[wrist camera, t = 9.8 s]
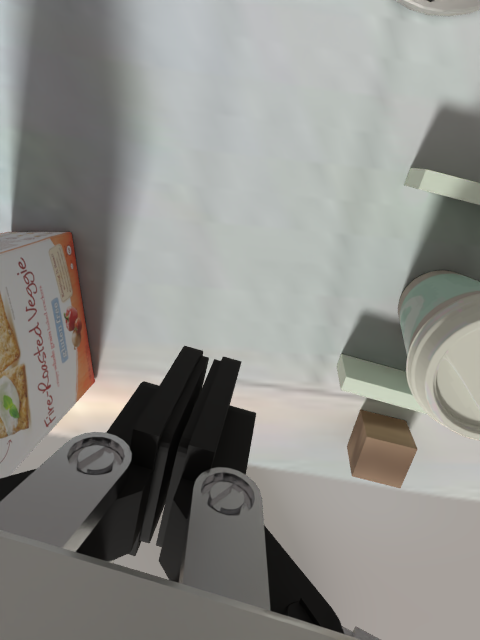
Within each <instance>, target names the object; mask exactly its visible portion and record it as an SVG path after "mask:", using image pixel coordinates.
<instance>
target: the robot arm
mask: <svg viewBox="0 0 480 640" xmlns="http://www.w3.org/2000/svg"><path fill="white" fill-rule="evenodd" d="M395 1H397V2H398V3H400V4H402V5H403V6H405V7H407V8H409V9H410V10H413V11H417V12H420V13H423V14H426V15H433V16H447V17H449V16H456V15H463V14H470V13H473V12H475V11H478V10H480V0H433V1H432V2H428V1H427V0H395ZM208 360H209V358H208V357H204V356H203V351H201V350H198V349H194V348H191V347H187V346H184V347H183V348H182V350H181V352H180V353H179V355H178V357H177V358H176V360H175V361H174V363H173V365H172V366H171V368H170V370H169V371H168V373H167V375H166V376H165V378H164V379H163V381H162V383H161V384H160V386H158V385H155V384H151V383H148V382H142V383H141V384H140V385H139V387H138V388H137V390H136V391H135V392H134V394H133V395H132V397H131V398H130V400H129V401H128V402H127V404H126V405H125V407H124V408H123V410H122V411H121V412H120V414H119V415H118V417H117V418H116V420H115V421H114V423H113V424H112V425H111V427H110V428H109V430H108V431H107V433H102V432H91V433H84V434H81V435H79V436H76V437H74V438H72V439H71V440H69V441H68V442H67V443H65V444H64V445H63V446H62V447H61V448H60V449H59V450H57V451H56V452H55V453H54V454H53V455H52V456H51V457H50V458H49V459H47V460H46V461H45V462H44V463H43V464H42V465H41V466H40V467H39V468H37V469H34V470H30V471H27V472H23V473H19V474H15V475H11V476H8V477H4V478H0V640H380V639H378V638H377V637H375V636H373V635H371V634H369V633H367V632H366V631H364V630H362V629H360V628H358V627H355V628H354V630H353V632H352V631H350V630H348V629H346V628H344V627H343V626H341V623H340V621H339V619H338V617H337V615H336V614H335V612H334V611H333V609H332V608H331V606H330V605H329V604H328V603H327V602H326V600H325V599H324V598H323V597H322V595H321V594H320V593H319V592H318V591H317V589H316V588H315V587H314V586H313V584H312V583H311V582H310V581H309V579H308V578H307V577H306V576H305V575H304V573H303V572H302V571H301V570H300V569H299V567H298V566H297V565H296V564H295V562H294V561H293V560H292V559H291V558H290V556H289V555H288V554H287V553H286V551H285V550H284V549H283V548H282V547H281V545H280V544H279V543H278V542H277V540H276V539H275V538H274V537H273V535H272V534H271V533H270V532H269V531H268V529H267V528H266V527H265V526H264V519H263V506H262V497H261V493H260V490H259V488H258V487H257V485H256V484H255V483H254V481H252V480H251V479H250V478H249V477H248V476H247V475H246V469H247V464H248V458H249V452H250V446H251V440H252V435H253V429H254V423H255V417H256V413H254V412H251V411H247V410H244V409H240V408H237V407H233V406H230V402H231V398H232V395H233V391H234V387H235V384H236V380H237V376H238V372H239V369H240V365H241V361H238V360H234V359H230V358H227V357H223V358H222V360H221V361H219V360H215V359H214V361H213V364H212V366H211V368H210V371H209V373H208V375H207V378H206V380H205V383H204V385H203V382H204V377H205V373H206V369H207V365H208ZM202 386H203V387H202ZM165 502H166V503H165ZM164 505H165V507H164ZM163 507H164V512H163V516H162V521H161V525H160V529H159V534H158V539H157V543H156V545H157V546H160V547H162V549H161V553H160V557H159V562H160V564H161V566H162V567H163V569H164V571H165V573H166V575H167V576H168V578H169V580H167V579H164V578H161V577H157V576H154V575H150V574H147V573H144V572H140V571H137V570H134V569H130V568H127V567H123V566H120V565H116V564H114V563H113V562H114V560H115V559H117V558H118V557H121V556H123V555H126V554H130V555H133V556H135V555H136V553H137V550H138V548H139V546H140V543H141V541H143V542H146V543H150V541H151V538H152V536H153V533H154V531H155V528H156V526H157V523H158V520H159V518H160V515H161V512H162V510H163Z"/></svg>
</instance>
